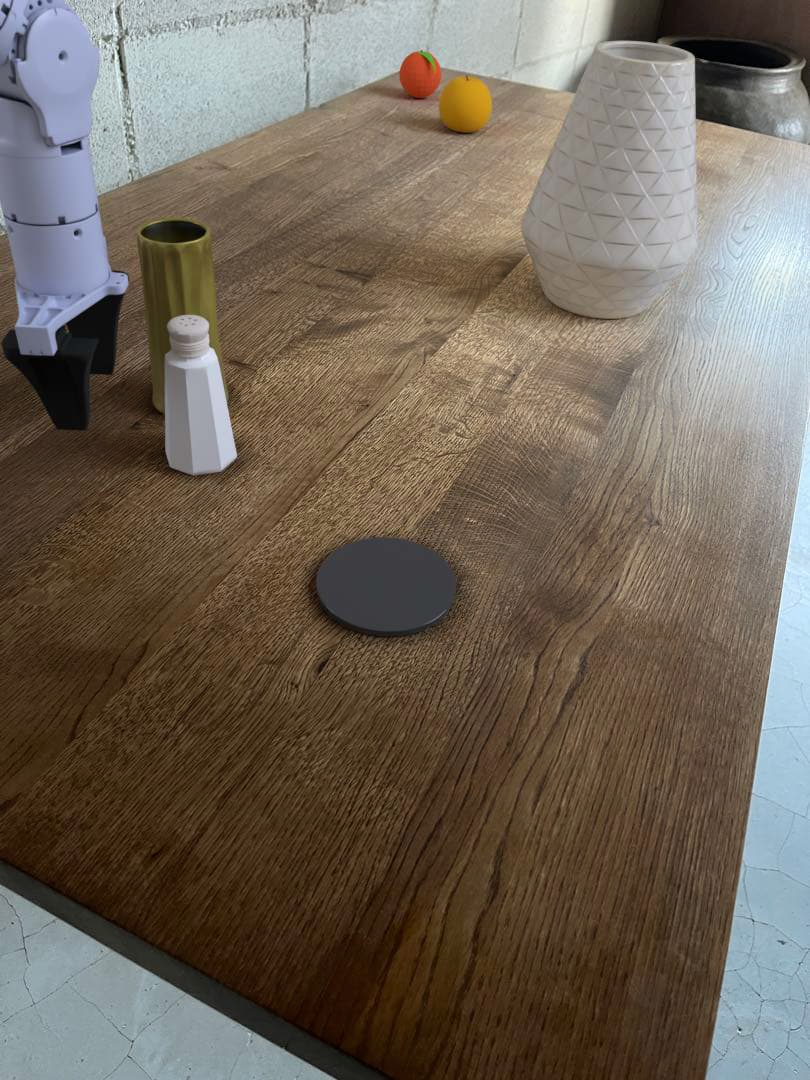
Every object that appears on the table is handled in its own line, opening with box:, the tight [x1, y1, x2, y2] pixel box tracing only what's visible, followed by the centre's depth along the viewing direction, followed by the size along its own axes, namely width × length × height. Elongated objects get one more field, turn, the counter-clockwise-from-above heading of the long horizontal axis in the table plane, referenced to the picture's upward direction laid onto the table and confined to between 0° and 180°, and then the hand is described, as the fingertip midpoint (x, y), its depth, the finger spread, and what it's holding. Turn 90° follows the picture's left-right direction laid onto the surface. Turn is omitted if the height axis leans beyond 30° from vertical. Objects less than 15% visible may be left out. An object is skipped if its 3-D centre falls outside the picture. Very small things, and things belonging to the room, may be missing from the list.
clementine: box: [398, 49, 442, 99], centre depth 151 cm, size 8×7×7 cm
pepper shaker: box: [164, 315, 238, 477], centre depth 66 cm, size 5×5×11 cm
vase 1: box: [136, 216, 230, 415], centre depth 71 cm, size 6×6×14 cm
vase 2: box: [520, 40, 699, 320], centre depth 89 cm, size 18×17×23 cm
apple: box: [438, 75, 493, 134], centre depth 138 cm, size 8×8×8 cm
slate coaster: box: [315, 536, 457, 638], centre depth 59 cm, size 9×9×1 cm
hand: (86, 398), depth 66 cm, fingers open, 7 cm apart
